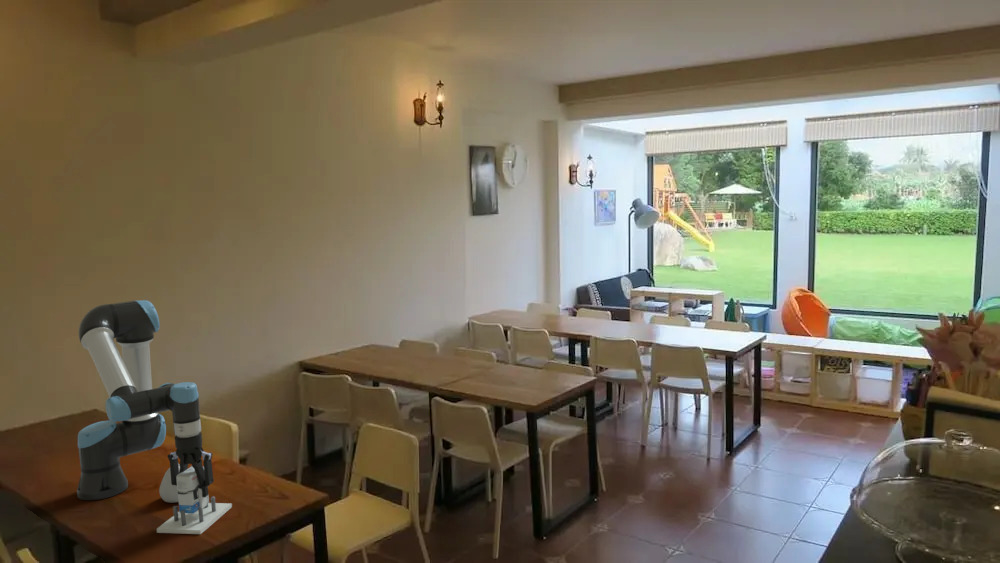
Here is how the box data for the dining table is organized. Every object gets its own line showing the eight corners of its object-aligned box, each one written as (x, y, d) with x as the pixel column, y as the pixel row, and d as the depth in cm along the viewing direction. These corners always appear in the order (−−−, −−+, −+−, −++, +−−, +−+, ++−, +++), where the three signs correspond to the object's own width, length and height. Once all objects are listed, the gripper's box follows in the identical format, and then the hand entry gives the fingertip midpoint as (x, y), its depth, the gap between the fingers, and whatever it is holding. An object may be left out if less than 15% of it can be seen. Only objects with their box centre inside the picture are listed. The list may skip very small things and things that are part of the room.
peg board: (156, 532, 206) (155, 514, 206) (191, 505, 224) (189, 489, 223) (200, 534, 204) (199, 515, 204) (231, 507, 222) (230, 490, 221)
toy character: (169, 492, 235) (166, 458, 234) (200, 491, 235) (197, 457, 234) (153, 505, 225) (150, 470, 224) (185, 505, 225) (182, 469, 223)
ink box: (193, 514, 209) (189, 476, 208) (178, 513, 210) (175, 476, 209) (210, 501, 217) (206, 465, 216) (196, 501, 218) (192, 465, 217)
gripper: (152, 437, 208) (160, 511, 211) (209, 438, 206) (215, 512, 209) (167, 429, 216) (174, 500, 219) (222, 429, 213) (228, 501, 216)
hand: (194, 506), depth 214 cm, fingers closed on ink box, 5 cm apart
